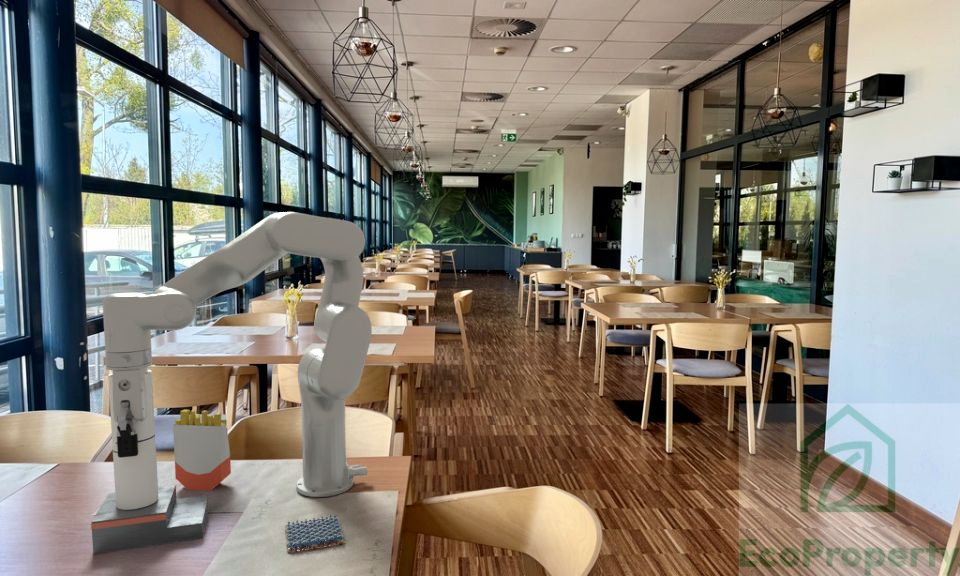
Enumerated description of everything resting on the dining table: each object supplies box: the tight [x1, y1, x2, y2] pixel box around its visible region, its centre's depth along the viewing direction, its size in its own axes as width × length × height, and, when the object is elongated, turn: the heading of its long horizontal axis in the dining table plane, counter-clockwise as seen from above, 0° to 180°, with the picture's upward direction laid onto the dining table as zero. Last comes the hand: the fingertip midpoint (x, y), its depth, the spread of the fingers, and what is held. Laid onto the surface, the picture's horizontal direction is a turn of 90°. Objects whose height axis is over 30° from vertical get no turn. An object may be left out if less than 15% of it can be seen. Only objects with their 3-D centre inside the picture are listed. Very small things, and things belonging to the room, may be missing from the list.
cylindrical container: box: [107, 369, 159, 510], centre depth 117 cm, size 7×7×25 cm
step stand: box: [90, 484, 210, 555], centre depth 119 cm, size 18×13×6 cm
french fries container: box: [172, 409, 232, 491], centre depth 139 cm, size 5×11×18 cm, turn 85°
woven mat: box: [284, 514, 346, 553], centre depth 117 cm, size 10×11×2 cm
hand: (133, 447), depth 117 cm, fingers open, 9 cm apart
